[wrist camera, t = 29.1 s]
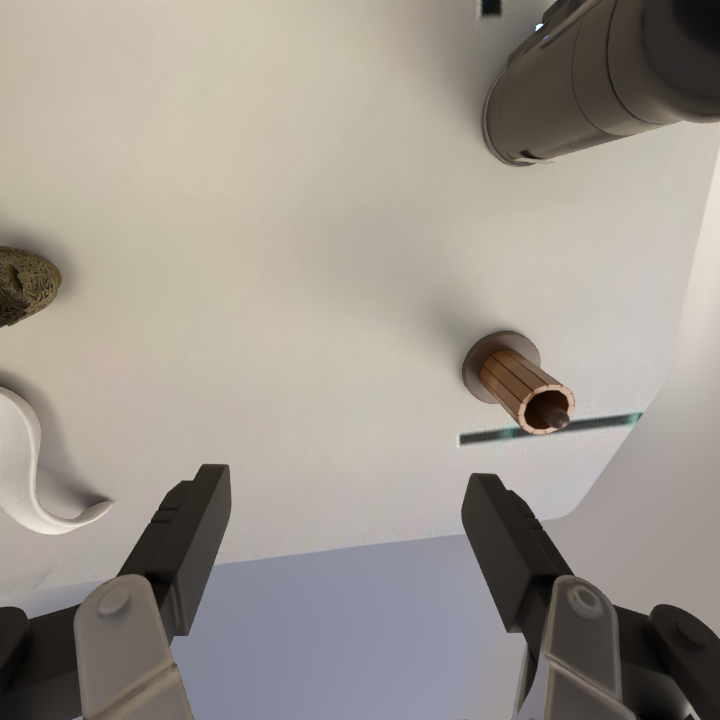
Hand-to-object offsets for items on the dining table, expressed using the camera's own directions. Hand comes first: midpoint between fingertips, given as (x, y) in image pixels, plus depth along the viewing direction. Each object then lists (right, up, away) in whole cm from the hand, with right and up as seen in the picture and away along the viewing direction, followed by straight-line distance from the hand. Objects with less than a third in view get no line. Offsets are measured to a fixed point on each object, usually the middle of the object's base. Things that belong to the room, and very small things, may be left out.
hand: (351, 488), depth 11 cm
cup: (-34, +14, +26) cm, 45 cm away
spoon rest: (-42, -7, +34) cm, 55 cm away
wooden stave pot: (+19, +3, +33) cm, 39 cm away
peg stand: (+19, +3, +35) cm, 40 cm away
